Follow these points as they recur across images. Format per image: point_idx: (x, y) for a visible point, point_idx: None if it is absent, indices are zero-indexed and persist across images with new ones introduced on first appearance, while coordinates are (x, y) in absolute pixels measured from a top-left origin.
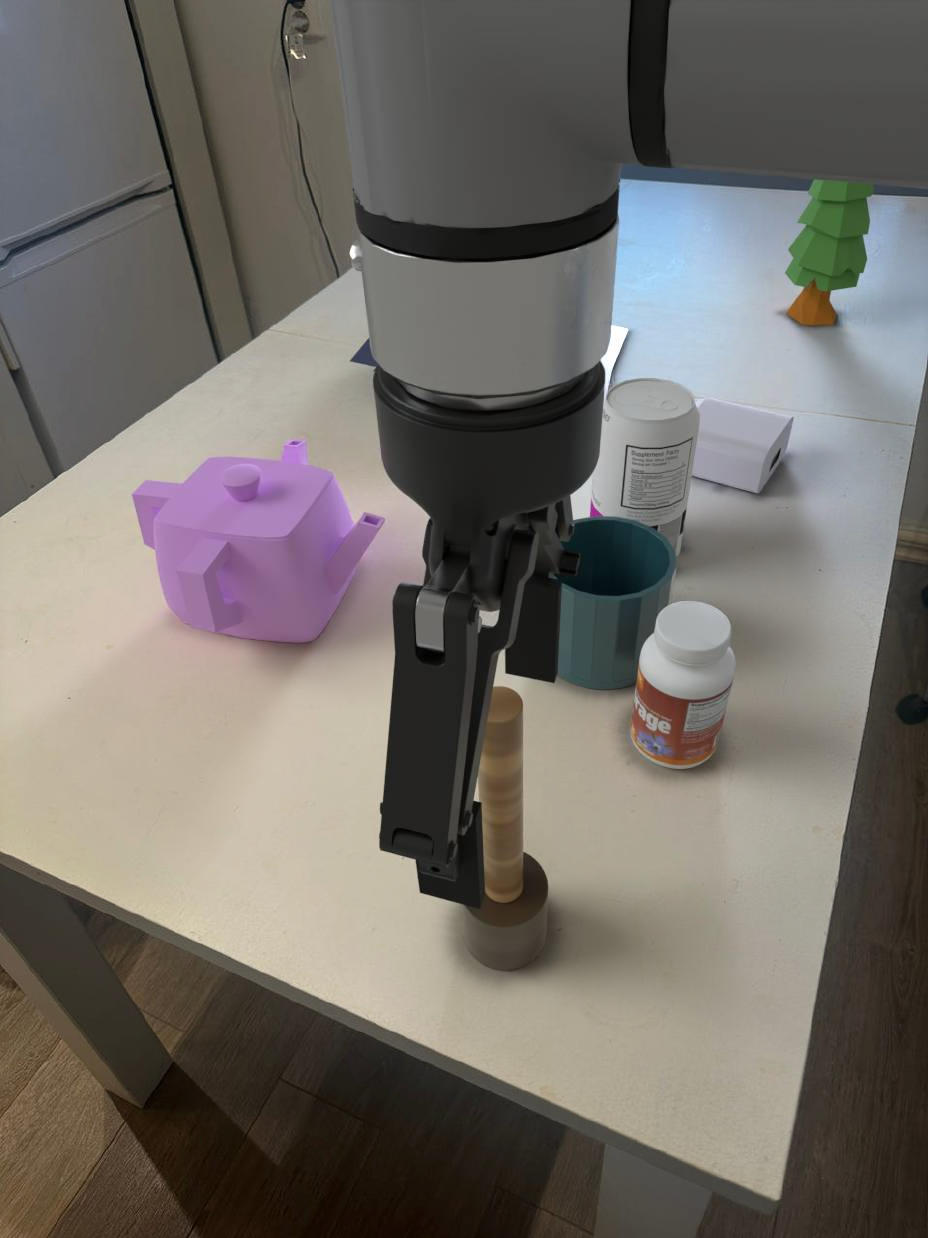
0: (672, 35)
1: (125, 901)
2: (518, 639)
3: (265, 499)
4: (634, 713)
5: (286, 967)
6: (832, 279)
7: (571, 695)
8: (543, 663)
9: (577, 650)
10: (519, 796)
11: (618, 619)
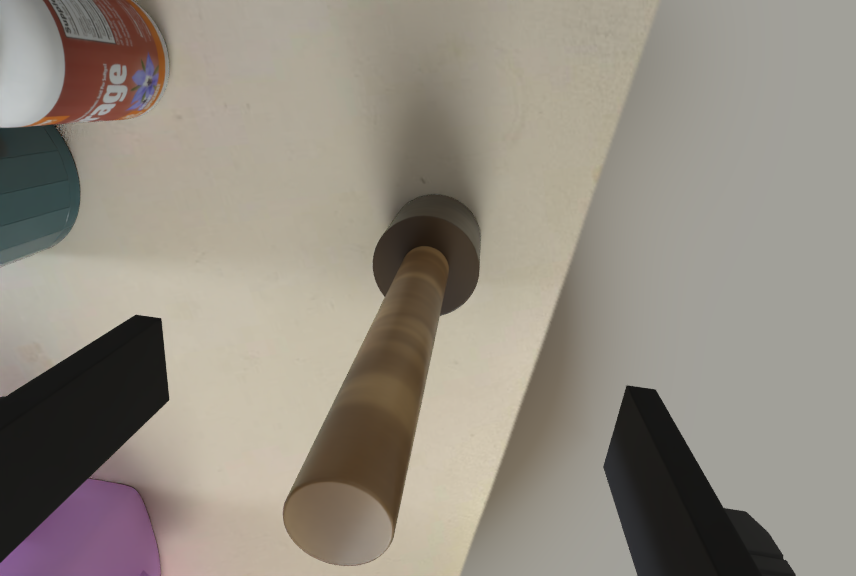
0: None
1: (465, 557)
2: (102, 436)
3: None
4: (105, 119)
5: (505, 426)
6: None
7: (99, 200)
8: (133, 360)
9: (27, 211)
10: (406, 338)
11: None
